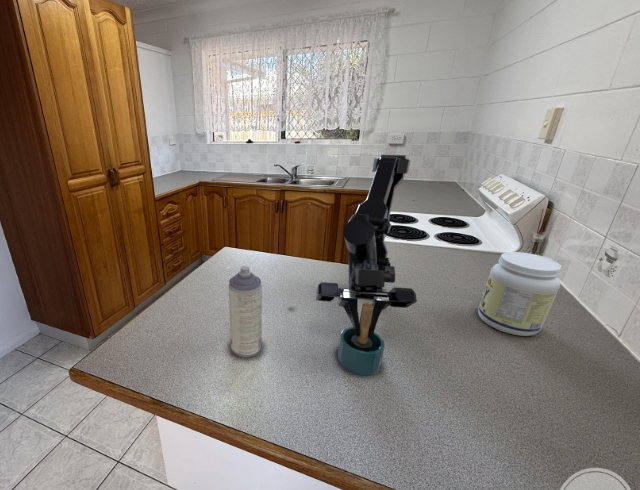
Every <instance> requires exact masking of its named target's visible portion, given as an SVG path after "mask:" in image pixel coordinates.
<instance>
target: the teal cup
mask: <svg viewBox="0 0 640 490" xmlns="http://www.w3.org/2000/svg"><path fill="white" fill-rule="evenodd" d="M355 335H356V333H355V331H354V328H353V326H350V327H347V328H344V329H343V330H342V331H341V332H340V334H339V343H338V351H337V360H338V363H339V364H340V365H341V367H343V368H344V369H345V370H347V371H349V372H350V373H353V374H355V375H359V376H371V375H374V374H376V373H377V372H379V370H380V368H381V365H382V360H383V355H384V350H385V341H384V339H383V338H382V337H381V335H380V334H378V333H377V332H375V331H374V333H373V336H372V338H370V339H371V341H372V348H371V352H365V351H360V350H357V349H354V348H352V347H351V340H352V337H353V336H355ZM368 338H369V334H368Z"/></svg>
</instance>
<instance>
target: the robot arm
mask: <svg viewBox="0 0 640 490" xmlns="http://www.w3.org/2000/svg"><path fill="white" fill-rule="evenodd" d="M410 164H411V159H409V158H407V155H406V154H381V155H380V156H379V157H374V159H373V164H372V170H371V171H372V172H374V176H373V178H372V182H371V185H370V188H369V191H368V194H367V197H366V200H365V201H363V202H361V203H360V204H358V205H357V206H358V207H357V209H356V211H355V214H354V213H352V216H351V217H350V219H349V220H348V222H347V223H346V224H345V226H344V227H343V230H342V235H343V238H344V242H345V245H346V250H347V251H348V255H347V256H348V288H339V283H338V282H325V281H320V283H318V284H317V288H316V293H315V294H316V296H315V300H316V301H318V302H327V303H331V302H332V301H333V300H334V299H336V298H338V300H339V302H338V307H342V308H343V309H344V311H345V313H346V314H347V317H348V318H349V320H350V323H351V327H353V328H354V331H355V333H356V336H357V337H359V336H360V325H359V322H360V316H359V310H358V304H359V303H358V302H359V300H365V301H366V300H368V301H371V303H370V304H371V305H372V306H373V311H372V317H371V323H370V329H369V338H372V336H373V333H374V332H375V329H376V327H377V324H378V321H379V317H380V315H381V314H382V311H383V310H385V309H387V308H388V307H391V308H401V309H402V308H403V309H404V308H405V309H406V308H409V307H411V306H412V305H414V304H416V303H417V302H418V301H417V300H418V299H417V293H416V291H415V290H414V289H413V288H411V287H410V288H409V287H395V286H393V287H392V288H391V289H390V290H389V291H383V288H385V287H386V286H385V284H386V283H391V284H394V283H395V282H396V269H395V266H394V265H392V264H391V262H390V258H389V257H388V254H389V251H388V248H387V246H386V243H385V240H386V239H385V238H386V235H387V236H388V234H389V232H390V231H391V228H392V223H391V220H390V216H391V211H392V206H393V201H394V197H395V191H396V189H397V188H398V187H399V186H400V185H402V183H403V182H404V179H405V175H406V174H409V170H410Z"/></svg>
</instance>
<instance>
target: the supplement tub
mask: <svg viewBox="0 0 640 490" xmlns="http://www.w3.org/2000/svg"><path fill="white" fill-rule="evenodd" d="M561 269H562V265H561V264H560V263H558V262H557V261H555V260H553V259H551V258H549V257H546V256H542V255H539V254H534V253H529V252H523V251H522V252H521V251H507V252H503V253H502V254H501V255H500V257H499V259H498V263H496V264H494V265H493V266H492V267H491V269H490V272H489V275H488V278H487V281H486V285H485V288H484V290H483V294H482V297H481V299H480V302H479V305H478V309H477V312H478V313H477V314H478V316H479V318H480V319H481V321H483V322H484V323H485V324H487V325H488V326H489V327H492V328H493V329H496V330H498V331H500V332H503V333H505V334H508V335H509V334H510V335H514V336H521V337H531V336H535V335H537V334H538V333H540V331H541V330H542V328H543V326H544V323H545V321H546V319H547V317H548V314H549V313H550V310H551V308H552V305H553V303H554V301H555V299H556V296H557V294H558V292H559V289H560V288H561V280H560V278H559V276H560V274H561Z"/></svg>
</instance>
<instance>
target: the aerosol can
mask: <svg viewBox="0 0 640 490" xmlns="http://www.w3.org/2000/svg"><path fill="white" fill-rule="evenodd" d="M262 292H263V286H262V280H261V278H260V277H259V276H257V275H256V274H254V273H253V272H252V271H250V267H249V266H248V265H242V266H240V271H239V272H237V273H236V274H235V275H233V276H232V277H231V278H230V279H229V280H228V307H229V308H228V309H229V330H230V331H229V333H230V350H231V352H232V353H233V355H234V356H236V357H238V358H241V359H242V358H243V359H251V358H254V357H256V356H257V355H259V354H260V352H261V351H262V307H263V306H262V305H263V303H262V302H263V300H262V297H263V296H262V294H263V293H262Z"/></svg>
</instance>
